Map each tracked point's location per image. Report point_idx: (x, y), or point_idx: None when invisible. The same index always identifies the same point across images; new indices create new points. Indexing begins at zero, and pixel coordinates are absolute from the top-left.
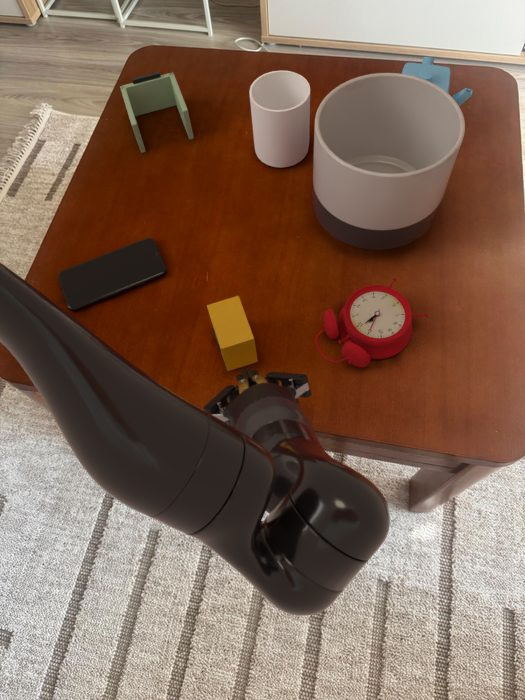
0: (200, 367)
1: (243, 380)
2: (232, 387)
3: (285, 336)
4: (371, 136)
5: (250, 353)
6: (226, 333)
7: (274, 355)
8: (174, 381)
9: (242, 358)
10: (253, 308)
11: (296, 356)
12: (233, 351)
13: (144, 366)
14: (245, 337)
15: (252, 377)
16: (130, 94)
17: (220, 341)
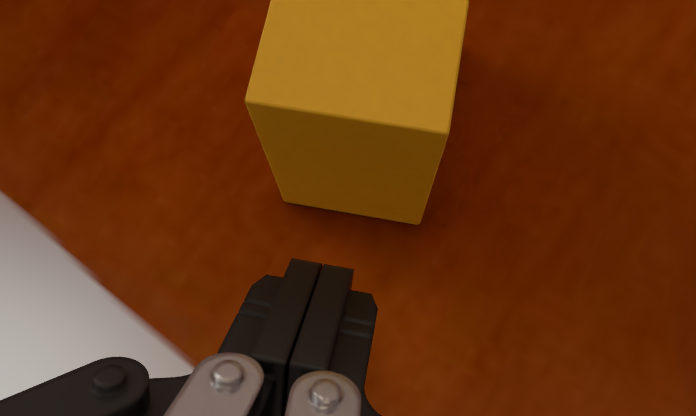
0: (197, 133)
1: (228, 382)
2: (115, 406)
3: (580, 179)
4: None
5: (399, 187)
6: (320, 33)
7: (497, 234)
8: (78, 137)
9: (356, 189)
10: (510, 11)
11: (586, 286)
12: (316, 143)
13: (19, 30)
14: (405, 104)
15: (300, 388)
16: None
17: (266, 59)
